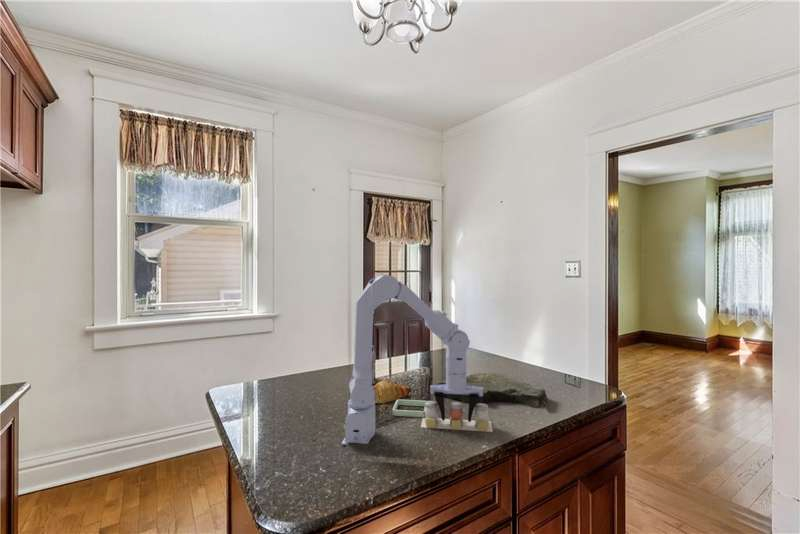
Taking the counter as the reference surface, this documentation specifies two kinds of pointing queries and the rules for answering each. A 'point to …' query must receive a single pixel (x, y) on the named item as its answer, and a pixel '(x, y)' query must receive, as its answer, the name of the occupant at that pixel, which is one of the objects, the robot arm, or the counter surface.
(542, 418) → the counter surface
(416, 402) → the tray
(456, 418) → the red fuse
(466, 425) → the fuse block
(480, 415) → the grey fuse
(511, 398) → the stone
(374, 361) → the toy
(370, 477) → the counter surface
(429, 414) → the grey fuse
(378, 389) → the croissant
